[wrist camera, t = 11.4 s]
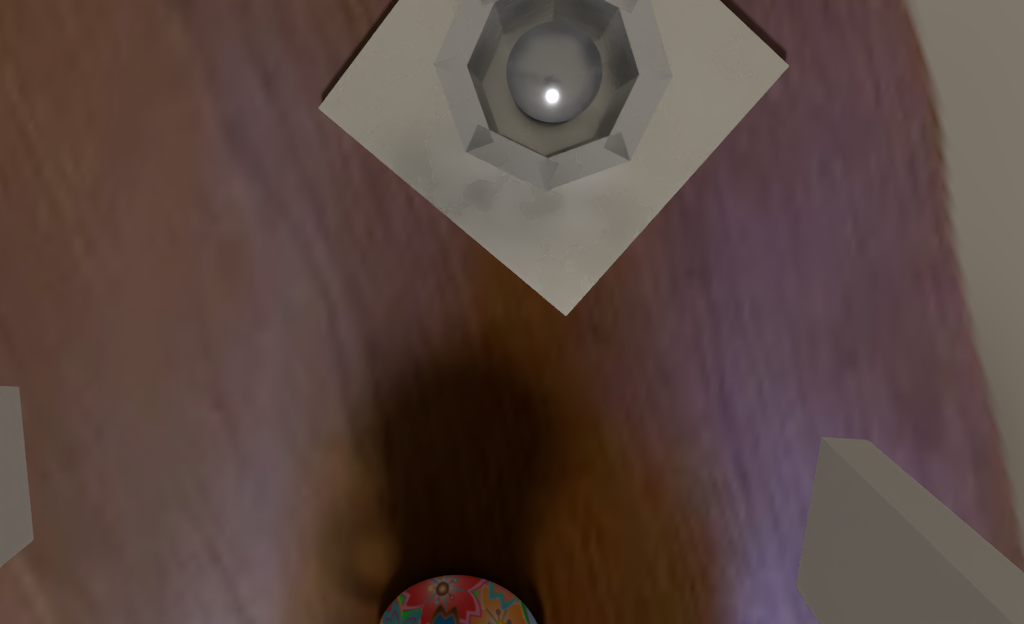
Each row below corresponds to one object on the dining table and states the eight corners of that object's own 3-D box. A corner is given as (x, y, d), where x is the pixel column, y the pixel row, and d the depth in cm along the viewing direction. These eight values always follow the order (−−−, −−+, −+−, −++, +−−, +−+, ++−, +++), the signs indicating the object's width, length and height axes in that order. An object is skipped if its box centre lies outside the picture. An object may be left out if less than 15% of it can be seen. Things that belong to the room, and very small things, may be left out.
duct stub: (321, 108, 31) (262, 98, 25) (531, -172, 29) (531, -270, 22) (565, 313, 33) (573, 357, 26) (785, 67, 31) (857, 44, 24)
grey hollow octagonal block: (497, 197, 32) (487, 212, 25) (437, 31, 30) (410, -1, 23) (656, 140, 31) (691, 139, 24) (603, -33, 29) (625, -86, 23)
